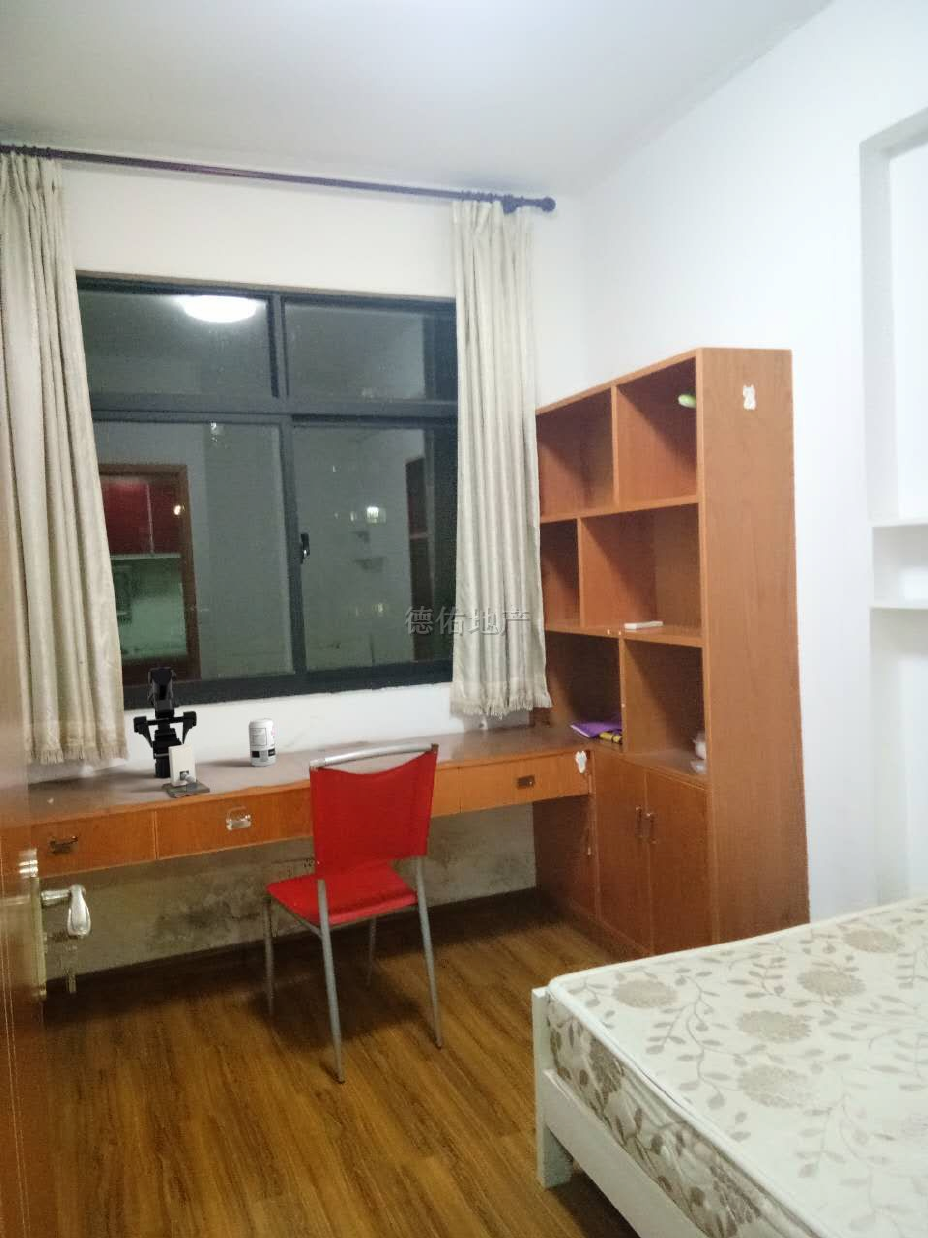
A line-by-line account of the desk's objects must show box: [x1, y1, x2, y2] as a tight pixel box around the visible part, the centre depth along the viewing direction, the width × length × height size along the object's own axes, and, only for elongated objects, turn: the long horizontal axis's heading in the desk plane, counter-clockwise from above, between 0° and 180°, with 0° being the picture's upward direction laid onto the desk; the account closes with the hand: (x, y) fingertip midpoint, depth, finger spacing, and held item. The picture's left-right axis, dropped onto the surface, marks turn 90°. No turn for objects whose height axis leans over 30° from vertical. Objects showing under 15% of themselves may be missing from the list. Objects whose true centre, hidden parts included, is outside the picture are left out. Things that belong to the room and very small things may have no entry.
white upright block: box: [169, 743, 197, 787], centre depth 266 cm, size 4×6×11 cm, turn 121°
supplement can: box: [247, 718, 277, 768], centre depth 294 cm, size 8×8×15 cm
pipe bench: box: [162, 771, 211, 798], centre depth 264 cm, size 17×10×5 cm, turn 31°
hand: (167, 745), depth 270 cm, fingers open, 9 cm apart
